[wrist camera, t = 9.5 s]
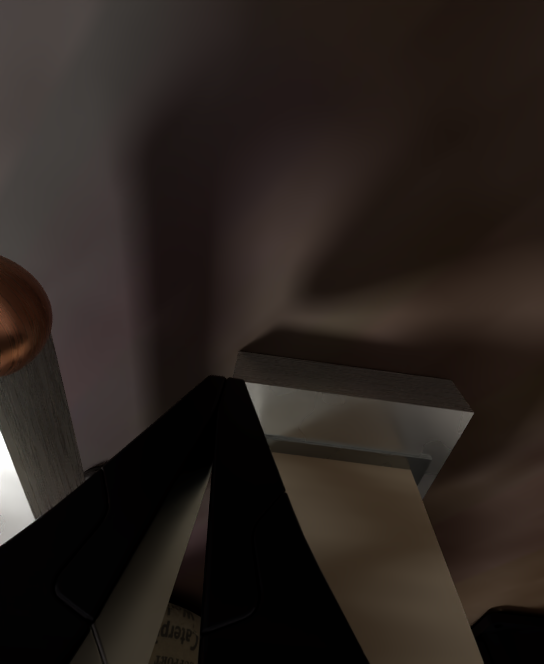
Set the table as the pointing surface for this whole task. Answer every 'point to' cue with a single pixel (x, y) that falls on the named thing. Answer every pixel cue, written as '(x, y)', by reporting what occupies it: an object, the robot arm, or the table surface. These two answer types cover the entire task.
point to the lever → (31, 407)
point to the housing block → (380, 559)
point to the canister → (177, 637)
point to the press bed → (355, 413)
